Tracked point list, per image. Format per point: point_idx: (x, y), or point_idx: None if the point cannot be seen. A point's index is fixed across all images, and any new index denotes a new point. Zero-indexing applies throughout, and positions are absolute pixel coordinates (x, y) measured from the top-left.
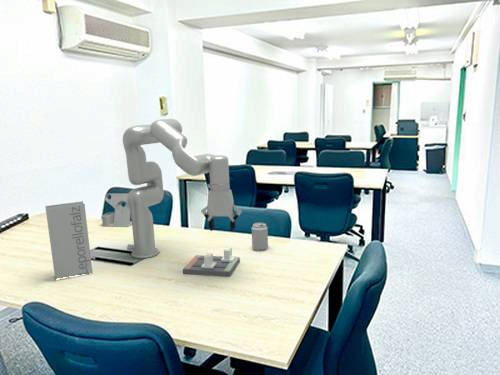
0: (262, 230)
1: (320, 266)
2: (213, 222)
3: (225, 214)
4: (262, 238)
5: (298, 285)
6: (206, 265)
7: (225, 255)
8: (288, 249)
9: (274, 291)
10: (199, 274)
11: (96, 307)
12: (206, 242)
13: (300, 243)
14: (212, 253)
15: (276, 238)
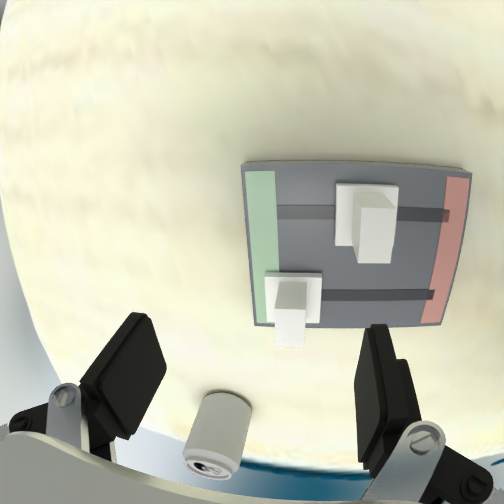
0: (190, 446)
1: (38, 289)
2: (360, 430)
3: (54, 472)
4: (199, 423)
5: (29, 158)
6: (373, 193)
7: (298, 293)
8: None
9: (63, 92)
10: (393, 162)
11: None
12: None
13: None
14: (358, 262)
15: None
